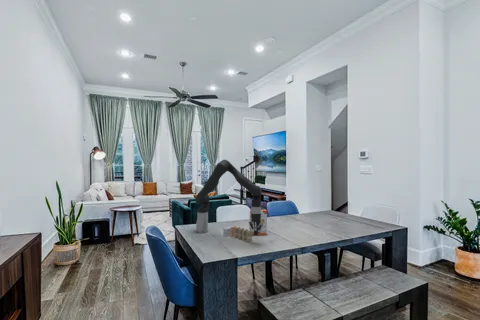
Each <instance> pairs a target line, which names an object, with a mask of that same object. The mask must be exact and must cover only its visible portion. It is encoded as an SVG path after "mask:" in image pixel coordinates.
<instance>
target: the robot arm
mask: <svg viewBox="0 0 480 320" xmlns="http://www.w3.org/2000/svg"><path fill="white" fill-rule="evenodd" d="M227 172H229V173H230V174H232V176H233V177H234V179H235V180H236V182H237V183H238V184H239V185H240V186H242V187H243V188H244V189H246V190H247V191H248V192H249V193H250V194H251V195H252V197H251V198H252V199H251V203H250V205H251V208H250V210H251V222H250V221H248V224H250V226H251V228H252V229H253V230H254V236H255V237H257V236H259V235H258V230H260V229H261V228H262V226H263V224H261V221H260V219H261V210H262V208H261V207H262V205H261V204H262V200H261V199H262V188H261V186H260V185H256V184H254V182H252V181H251V180H250V179H249V178H248V177H246V176H245V175H244V174H243V173H242V172H240V171H239V170H238V169H237V168H236V167H235V166H234V165H233V164H232V163H231V162H230V161H229V160H227V159H222V160H221V161H219V162H218V163H217V164H216V165H215V167H214V170H213V171H212V173H211V174H210V176H209V177H208V179H207V180H206V182H205V184H204V186H203V187H202V188H201V189H200V191H199V192H198V193H197V194H196V195H195V203H196V204H197V205H201V206H200V207H198V208H197V210H196V211H197V220H196V223H195V224H196V226H195V228H196V229H195V231H196V233H198V234H205V233H208V231H209V209H210V208H209V207H210V196H209V194H211V193H212V192H214V191H215V190H216V188H217V187H218V186H219V183H220V180H221V178H222V176H223V175H224V174H225V173H227ZM252 226H253V227H252Z"/></svg>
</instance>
